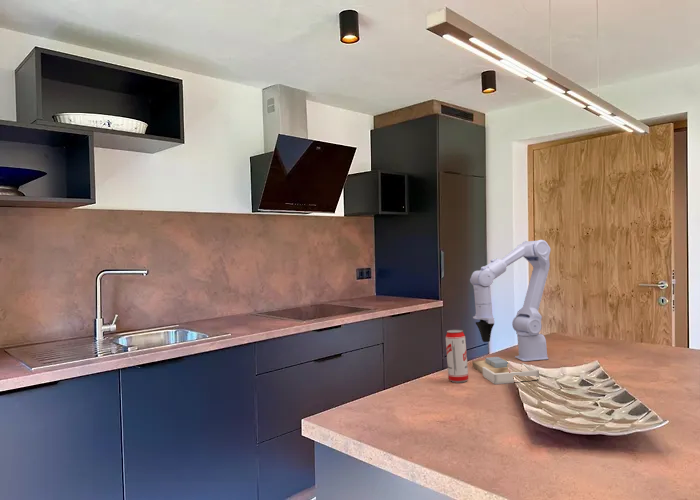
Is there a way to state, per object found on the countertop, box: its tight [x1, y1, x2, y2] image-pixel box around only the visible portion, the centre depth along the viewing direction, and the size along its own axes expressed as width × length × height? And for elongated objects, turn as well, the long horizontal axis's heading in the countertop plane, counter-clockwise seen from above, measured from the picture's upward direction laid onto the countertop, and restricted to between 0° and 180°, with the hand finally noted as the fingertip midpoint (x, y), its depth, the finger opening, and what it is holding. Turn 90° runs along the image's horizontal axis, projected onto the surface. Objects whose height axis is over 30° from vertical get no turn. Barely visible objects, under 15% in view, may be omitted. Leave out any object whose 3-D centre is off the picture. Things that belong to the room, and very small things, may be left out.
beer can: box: [445, 329, 469, 384], centre depth 157 cm, size 6×6×16 cm
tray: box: [482, 362, 540, 385], centre depth 155 cm, size 14×11×3 cm
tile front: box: [490, 360, 508, 368], centre depth 164 cm, size 4×4×2 cm
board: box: [471, 358, 510, 375], centre depth 168 cm, size 12×14×2 cm
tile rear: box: [484, 356, 504, 365], centre depth 169 cm, size 4×4×2 cm
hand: (486, 341), depth 176 cm, fingers closed
